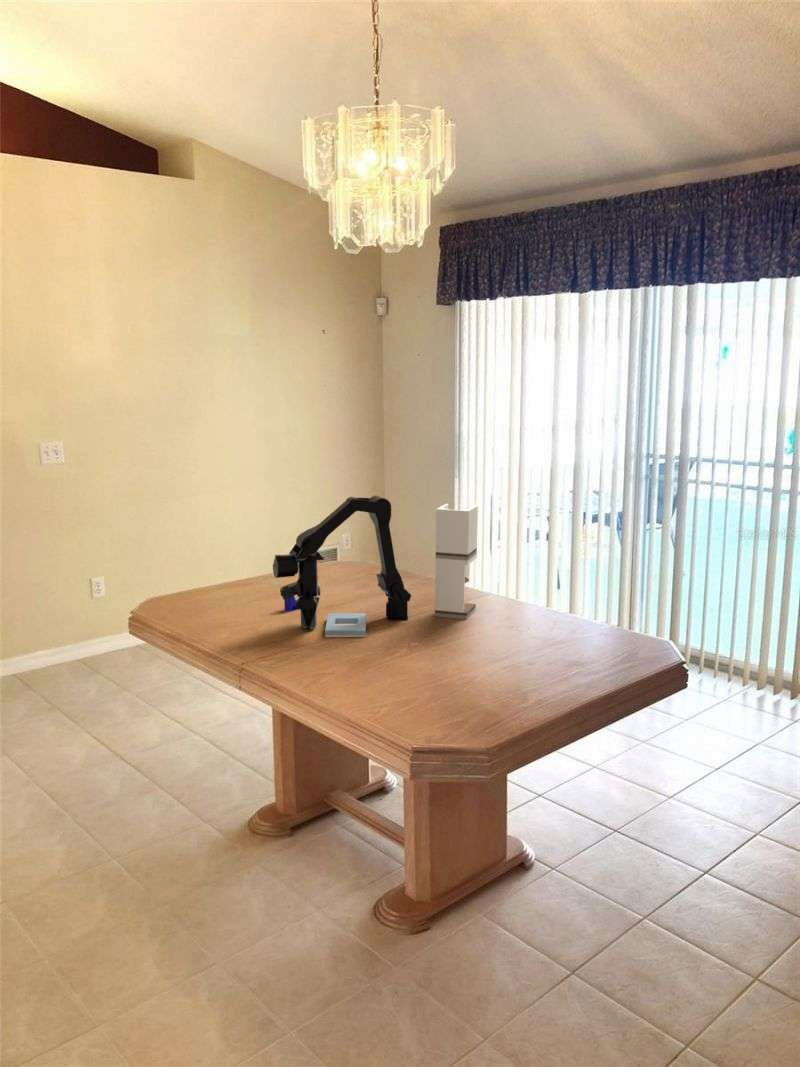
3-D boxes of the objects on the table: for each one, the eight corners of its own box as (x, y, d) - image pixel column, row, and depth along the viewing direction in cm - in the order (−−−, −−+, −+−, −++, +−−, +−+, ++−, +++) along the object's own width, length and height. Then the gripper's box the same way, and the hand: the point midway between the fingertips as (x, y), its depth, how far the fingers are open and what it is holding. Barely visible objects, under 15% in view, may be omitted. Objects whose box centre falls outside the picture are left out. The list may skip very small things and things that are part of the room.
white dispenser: (466, 619, 277) (469, 511, 271) (434, 616, 281) (436, 509, 274) (475, 610, 288) (477, 505, 281) (444, 607, 291) (446, 503, 285)
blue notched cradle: (305, 602, 298) (305, 585, 296) (315, 604, 295) (315, 587, 294) (281, 609, 288) (280, 592, 287) (291, 612, 285) (290, 594, 284)
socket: (366, 619, 277) (366, 613, 276) (365, 636, 259) (365, 630, 259) (328, 619, 277) (328, 613, 276) (325, 636, 259) (324, 630, 258)
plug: (316, 625, 270) (316, 604, 268) (315, 630, 265) (315, 608, 264) (302, 625, 270) (301, 604, 268) (301, 630, 265) (300, 608, 264)
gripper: (284, 567, 273) (285, 615, 276) (277, 582, 255) (279, 633, 258) (320, 567, 274) (320, 615, 277) (316, 582, 255) (316, 633, 258)
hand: (308, 624), depth 267 cm, fingers closed on plug, 4 cm apart
